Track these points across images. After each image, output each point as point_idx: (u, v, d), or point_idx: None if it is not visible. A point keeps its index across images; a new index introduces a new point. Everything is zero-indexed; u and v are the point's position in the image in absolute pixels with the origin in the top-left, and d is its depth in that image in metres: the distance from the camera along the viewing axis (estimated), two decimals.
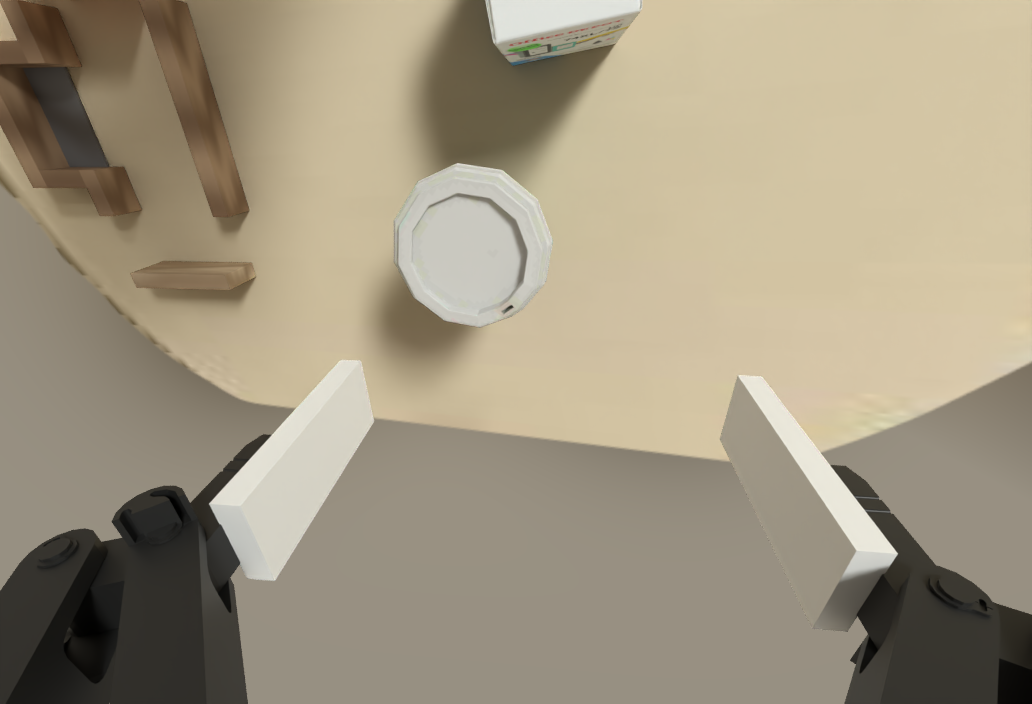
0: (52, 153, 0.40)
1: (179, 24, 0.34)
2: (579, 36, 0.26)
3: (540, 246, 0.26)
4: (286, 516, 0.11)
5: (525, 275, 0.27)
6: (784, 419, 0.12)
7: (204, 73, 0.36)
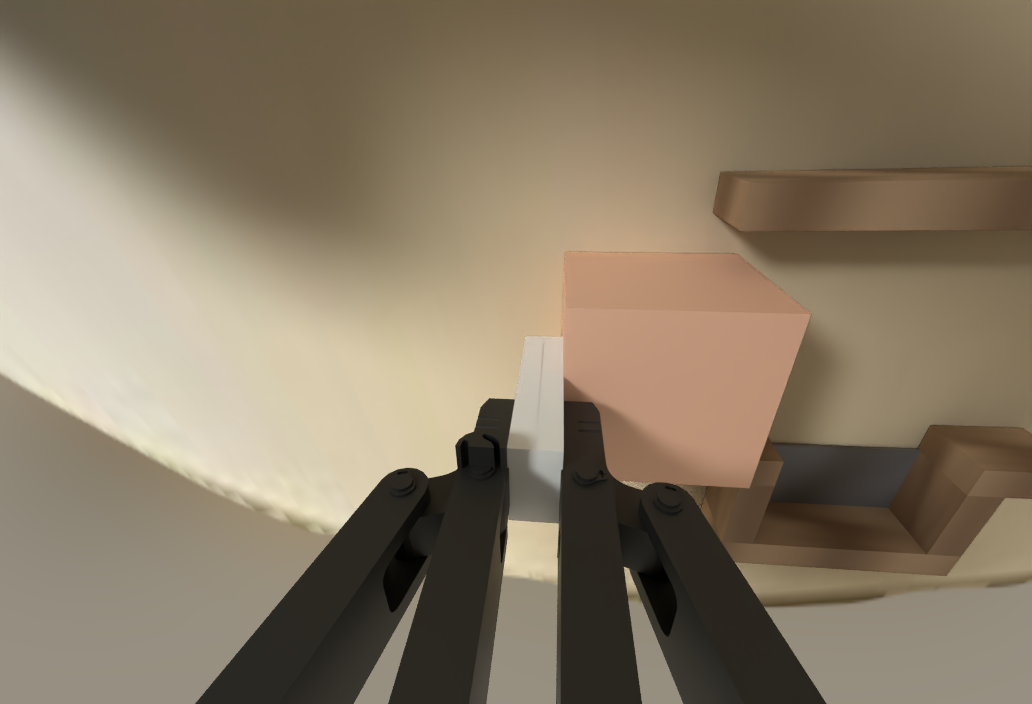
0: (874, 521, 0.22)
1: (782, 175, 0.15)
2: None
3: None
4: None
5: None
6: (554, 367, 0.15)
7: (861, 170, 0.15)
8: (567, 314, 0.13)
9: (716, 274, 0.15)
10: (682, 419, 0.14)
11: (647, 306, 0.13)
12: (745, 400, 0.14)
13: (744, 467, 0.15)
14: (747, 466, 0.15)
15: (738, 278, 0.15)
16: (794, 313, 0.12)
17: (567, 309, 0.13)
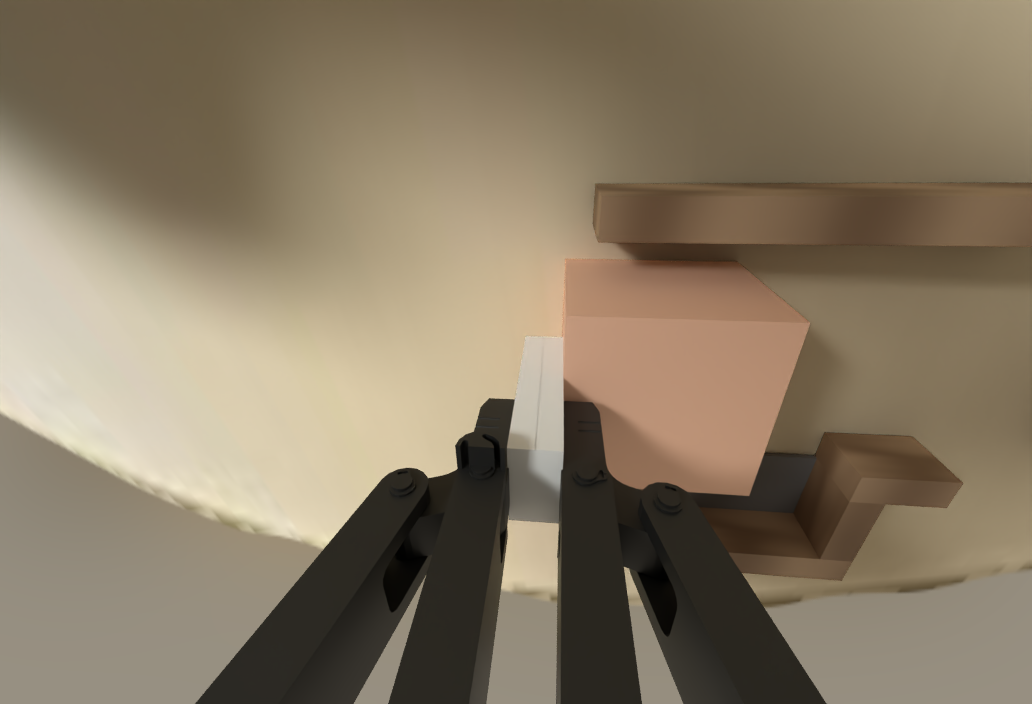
0: (776, 526, 0.23)
1: (643, 189, 0.15)
2: None
3: None
4: None
5: None
6: (554, 367, 0.15)
7: (725, 184, 0.16)
8: (567, 322, 0.13)
9: (715, 281, 0.15)
10: (682, 426, 0.14)
11: (647, 314, 0.13)
12: (745, 408, 0.14)
13: (743, 475, 0.15)
14: (747, 474, 0.15)
15: (737, 286, 0.15)
16: (793, 321, 0.12)
17: (567, 317, 0.13)
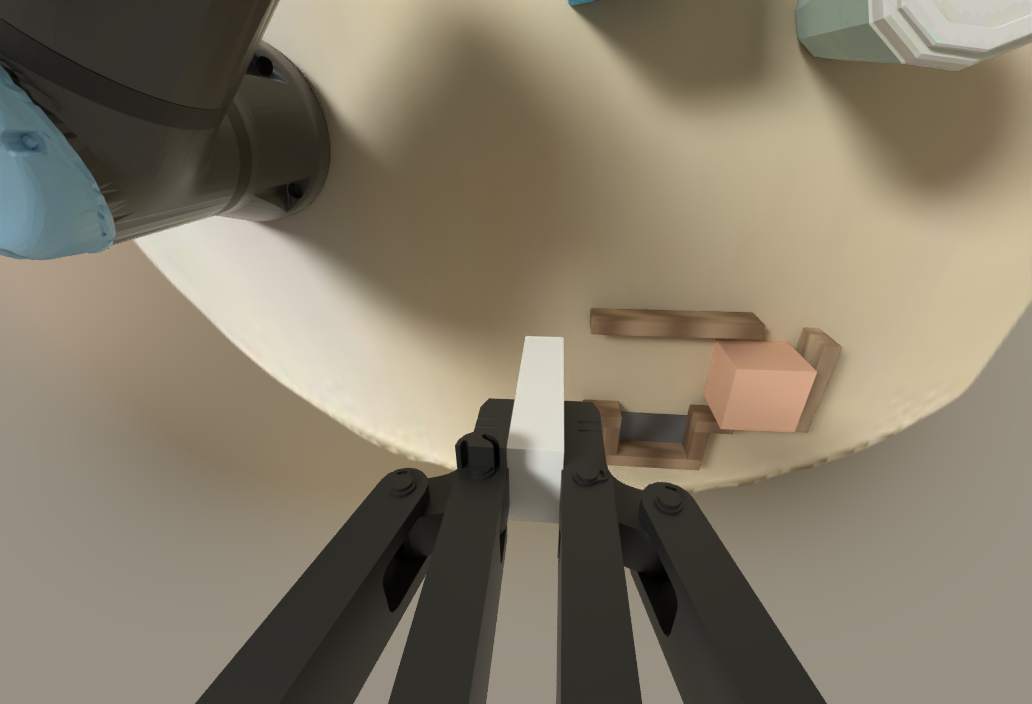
0: (672, 448, 0.50)
1: (607, 314, 0.43)
2: None
3: None
4: None
5: None
6: (555, 367, 0.15)
7: (638, 310, 0.43)
8: (736, 371, 0.39)
9: (781, 353, 0.42)
10: (771, 406, 0.41)
11: (763, 368, 0.39)
12: (794, 399, 0.40)
13: (792, 424, 0.42)
14: (794, 423, 0.42)
15: (790, 355, 0.41)
16: (812, 371, 0.39)
17: (737, 369, 0.39)
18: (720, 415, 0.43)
